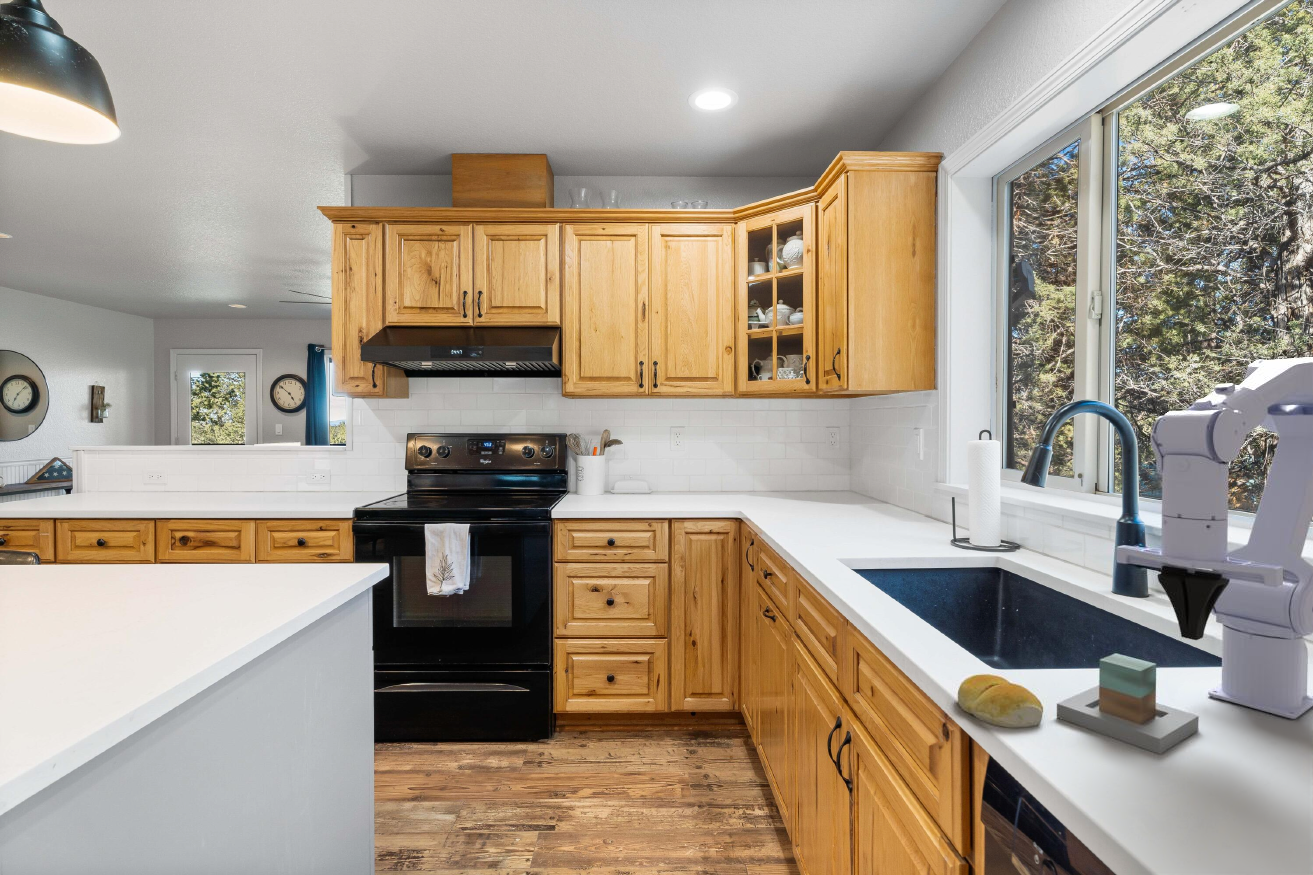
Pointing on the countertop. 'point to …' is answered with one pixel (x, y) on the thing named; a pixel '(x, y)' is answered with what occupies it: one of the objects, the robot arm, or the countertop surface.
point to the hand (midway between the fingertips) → (1192, 637)
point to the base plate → (1129, 722)
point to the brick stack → (1127, 688)
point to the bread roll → (999, 701)
